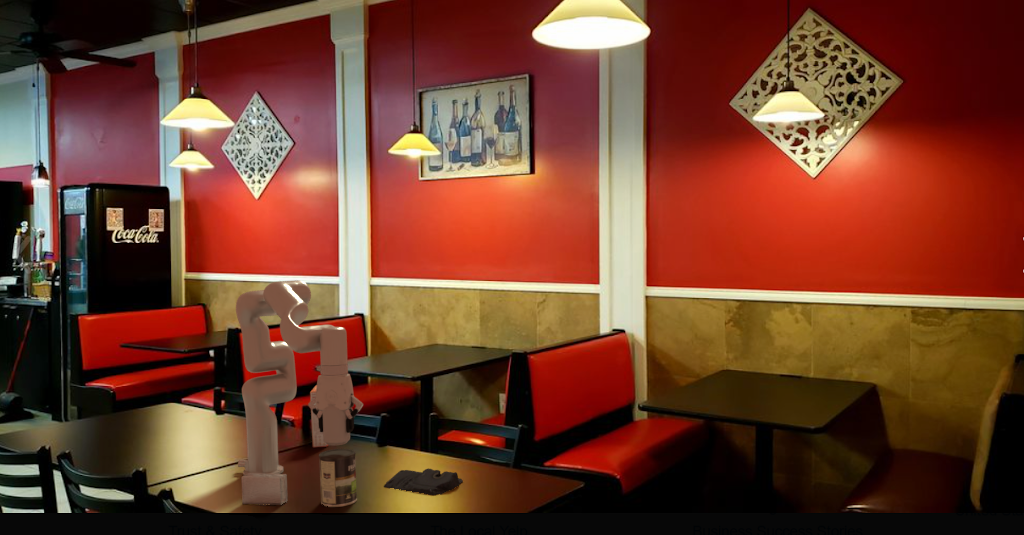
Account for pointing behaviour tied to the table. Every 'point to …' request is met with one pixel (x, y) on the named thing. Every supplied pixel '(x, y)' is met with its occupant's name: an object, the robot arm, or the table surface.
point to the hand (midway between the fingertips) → (336, 431)
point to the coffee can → (338, 477)
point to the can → (334, 426)
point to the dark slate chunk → (424, 481)
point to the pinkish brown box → (264, 489)
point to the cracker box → (316, 425)
